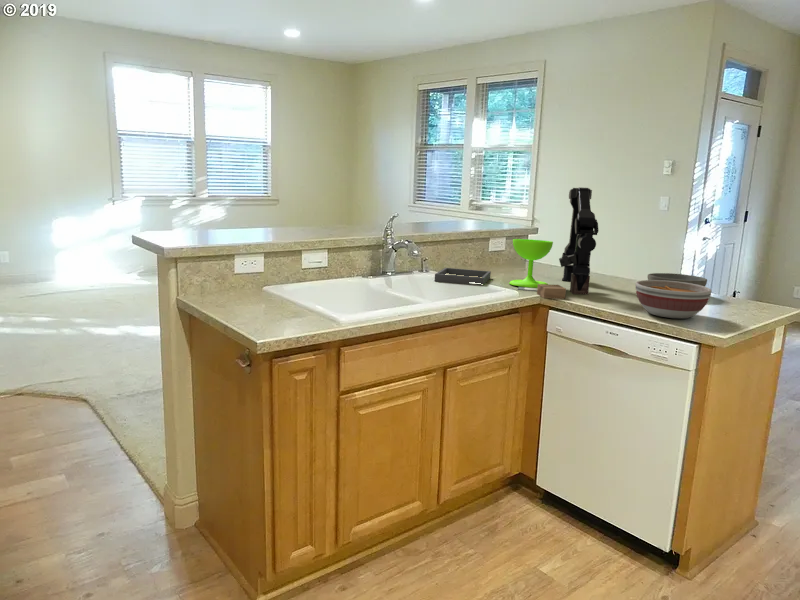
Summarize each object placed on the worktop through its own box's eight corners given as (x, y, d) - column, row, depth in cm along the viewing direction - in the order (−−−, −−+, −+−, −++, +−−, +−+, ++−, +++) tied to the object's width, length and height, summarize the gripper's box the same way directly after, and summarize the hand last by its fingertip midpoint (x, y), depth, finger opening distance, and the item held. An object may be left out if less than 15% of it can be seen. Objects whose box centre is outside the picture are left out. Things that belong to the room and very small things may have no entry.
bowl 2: (671, 325, 186) (675, 293, 184) (617, 309, 206) (620, 280, 204) (723, 321, 195) (728, 290, 193) (667, 306, 215) (670, 278, 213)
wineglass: (504, 281, 254) (508, 238, 251) (541, 282, 256) (545, 240, 253) (515, 286, 238) (519, 240, 235) (554, 288, 240) (559, 242, 237)
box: (585, 292, 237) (587, 273, 236) (588, 295, 232) (590, 276, 230) (569, 291, 238) (571, 272, 237) (572, 294, 232) (574, 275, 231)
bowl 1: (645, 297, 232) (647, 276, 230) (645, 289, 251) (647, 269, 249) (706, 303, 224) (709, 282, 222) (702, 294, 243) (705, 274, 241)
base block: (536, 294, 230) (537, 284, 229) (557, 295, 230) (558, 284, 230) (543, 298, 222) (544, 288, 221) (564, 299, 223) (565, 288, 222)
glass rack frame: (445, 274, 267) (445, 267, 267) (490, 278, 262) (490, 271, 261) (434, 281, 248) (434, 274, 248) (483, 285, 243) (483, 278, 242)
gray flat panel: (520, 285, 246) (520, 284, 246) (555, 288, 242) (555, 287, 242) (517, 289, 236) (517, 288, 236) (554, 293, 233) (554, 291, 232)
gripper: (562, 245, 242) (558, 283, 246) (560, 250, 225) (556, 291, 228) (591, 247, 239) (587, 286, 243) (591, 252, 222) (587, 294, 225)
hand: (579, 289), depth 235 cm, fingers closed on box, 6 cm apart
